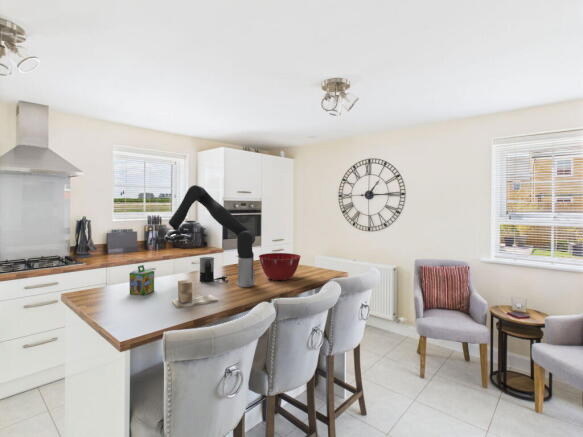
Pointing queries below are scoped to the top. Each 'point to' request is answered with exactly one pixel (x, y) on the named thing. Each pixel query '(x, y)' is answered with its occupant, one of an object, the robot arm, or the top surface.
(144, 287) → the green patterned box
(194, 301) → the board
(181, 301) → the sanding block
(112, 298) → the top surface
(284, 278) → the mixing bowl
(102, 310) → the top surface
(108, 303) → the top surface
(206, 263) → the milk frother
